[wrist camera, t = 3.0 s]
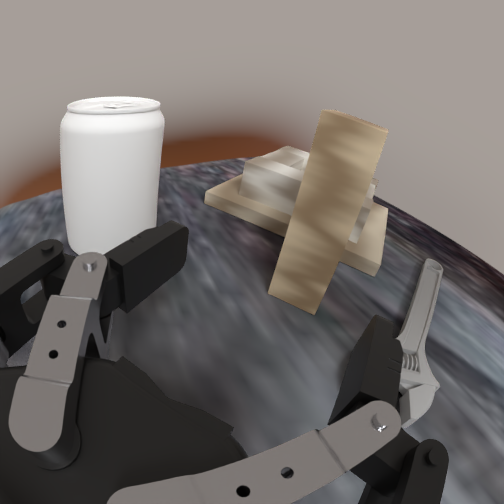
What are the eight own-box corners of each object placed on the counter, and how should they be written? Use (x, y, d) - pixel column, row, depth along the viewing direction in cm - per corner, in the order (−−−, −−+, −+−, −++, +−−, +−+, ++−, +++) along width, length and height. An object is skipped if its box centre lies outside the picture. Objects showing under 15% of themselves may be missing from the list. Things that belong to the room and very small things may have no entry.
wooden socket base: (384, 217, 43) (397, 185, 40) (374, 277, 28) (397, 230, 25) (267, 170, 48) (274, 138, 45) (204, 203, 34) (211, 157, 31)
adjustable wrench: (421, 265, 34) (427, 253, 33) (460, 291, 31) (467, 280, 30) (328, 397, 17) (340, 382, 16) (403, 450, 14) (420, 439, 13)
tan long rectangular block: (328, 284, 26) (388, 129, 18) (314, 315, 22) (387, 133, 15) (288, 265, 27) (336, 109, 19) (267, 293, 23) (321, 109, 16)
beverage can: (52, 242, 23) (42, 106, 16) (114, 209, 29) (119, 93, 22) (110, 282, 21) (105, 116, 14) (173, 237, 27) (188, 104, 20)
